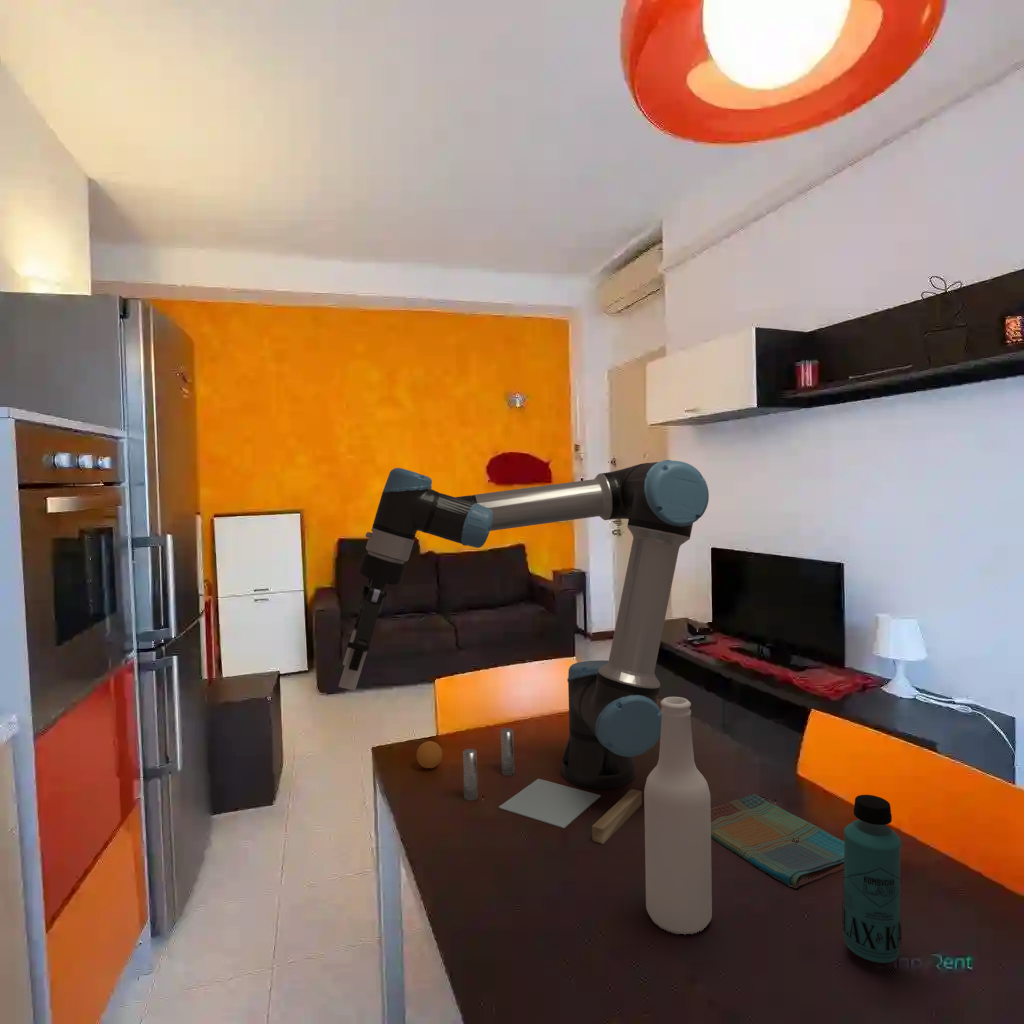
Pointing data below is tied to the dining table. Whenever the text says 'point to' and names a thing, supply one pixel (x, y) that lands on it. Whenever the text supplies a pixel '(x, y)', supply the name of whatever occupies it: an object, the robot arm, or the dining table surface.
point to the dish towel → (775, 839)
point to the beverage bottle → (872, 882)
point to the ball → (429, 754)
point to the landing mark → (550, 802)
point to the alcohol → (677, 829)
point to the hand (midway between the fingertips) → (348, 676)
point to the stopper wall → (616, 816)
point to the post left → (470, 774)
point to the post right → (507, 751)
